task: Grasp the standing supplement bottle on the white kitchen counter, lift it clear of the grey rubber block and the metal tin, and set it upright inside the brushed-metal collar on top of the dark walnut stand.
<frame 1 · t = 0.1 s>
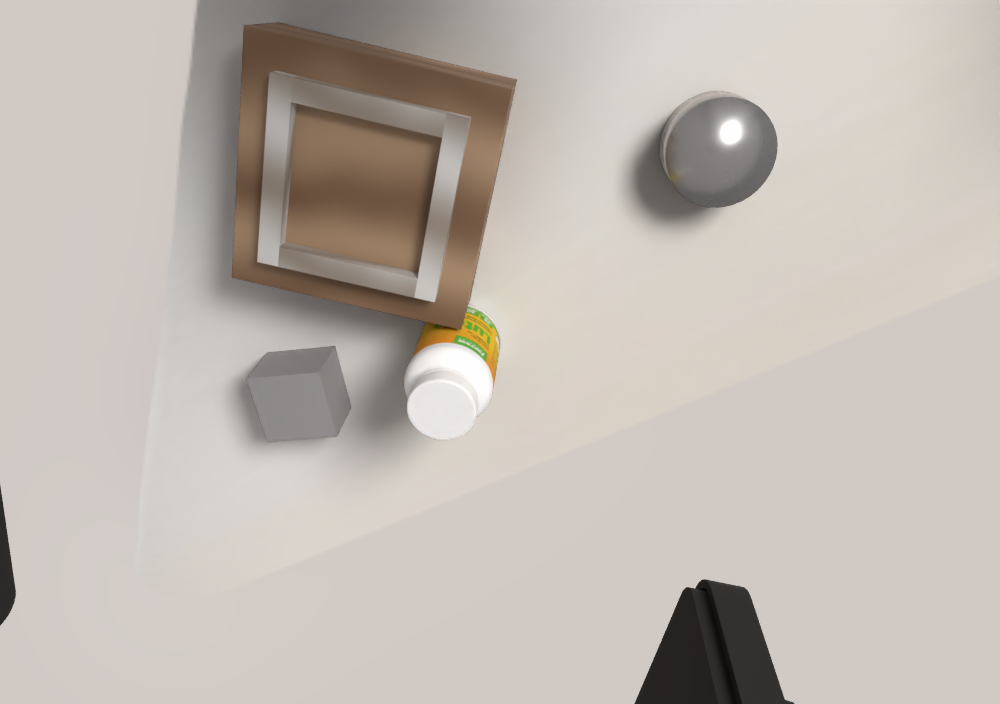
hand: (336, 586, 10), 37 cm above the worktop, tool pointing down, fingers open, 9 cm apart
metal tin: (710, 144, 42), on the worktop
supplement bottle: (462, 336, 49), on the worktop
grey rubber block: (310, 379, 51), on the worktop
walnut stand: (381, 171, 44), on the worktop
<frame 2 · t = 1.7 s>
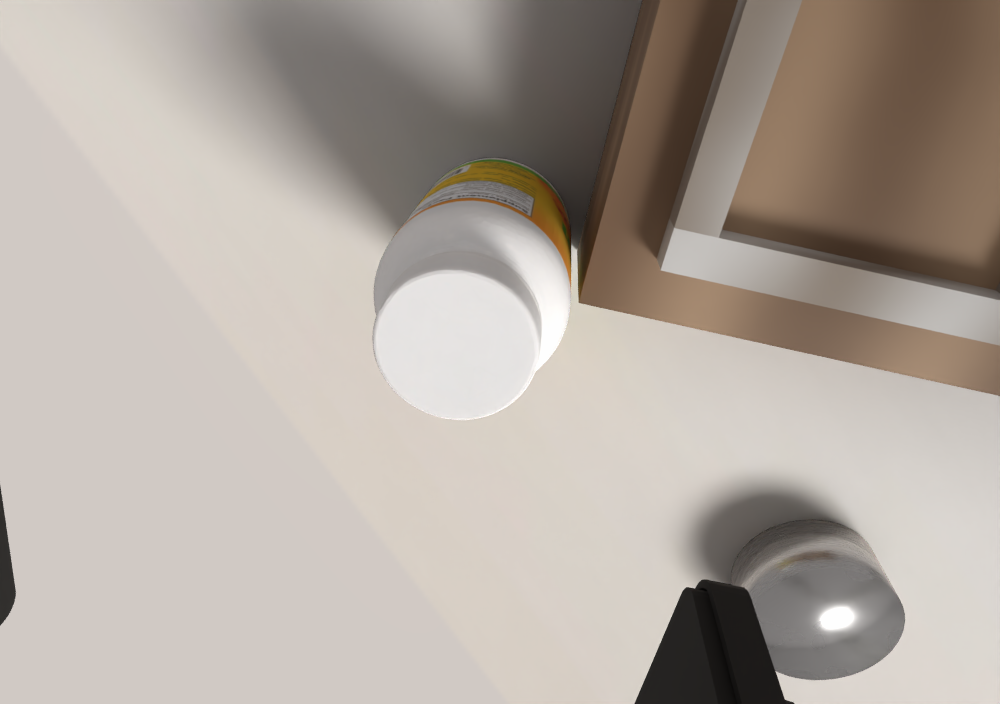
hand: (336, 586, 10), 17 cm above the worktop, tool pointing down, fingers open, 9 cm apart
metal tin: (801, 572, 31), on the worktop
supplement bottle: (495, 230, 26), on the worktop
walnut stand: (850, 89, 22), on the worktop
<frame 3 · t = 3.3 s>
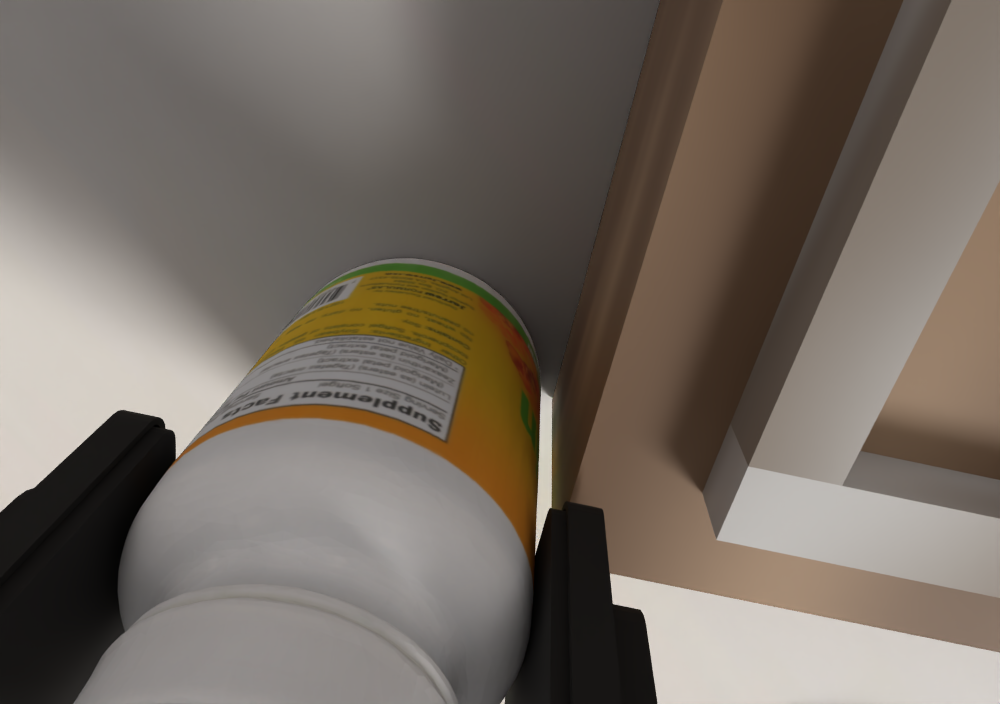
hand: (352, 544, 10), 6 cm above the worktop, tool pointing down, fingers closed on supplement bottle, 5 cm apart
supplement bottle: (418, 366, 16), on the worktop, touching gripper
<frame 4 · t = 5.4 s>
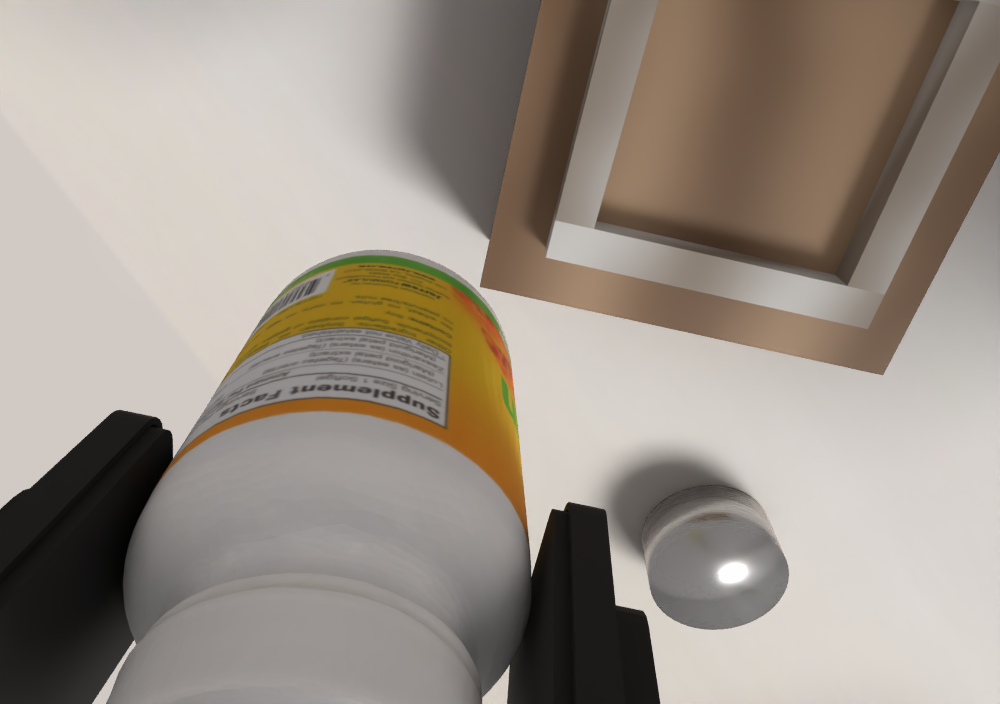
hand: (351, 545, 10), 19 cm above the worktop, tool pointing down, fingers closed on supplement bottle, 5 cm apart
metal tin: (704, 534, 34), on the worktop
supplement bottle: (388, 356, 16), point 13 cm above the worktop, touching gripper
walnut stand: (722, 97, 25), on the worktop
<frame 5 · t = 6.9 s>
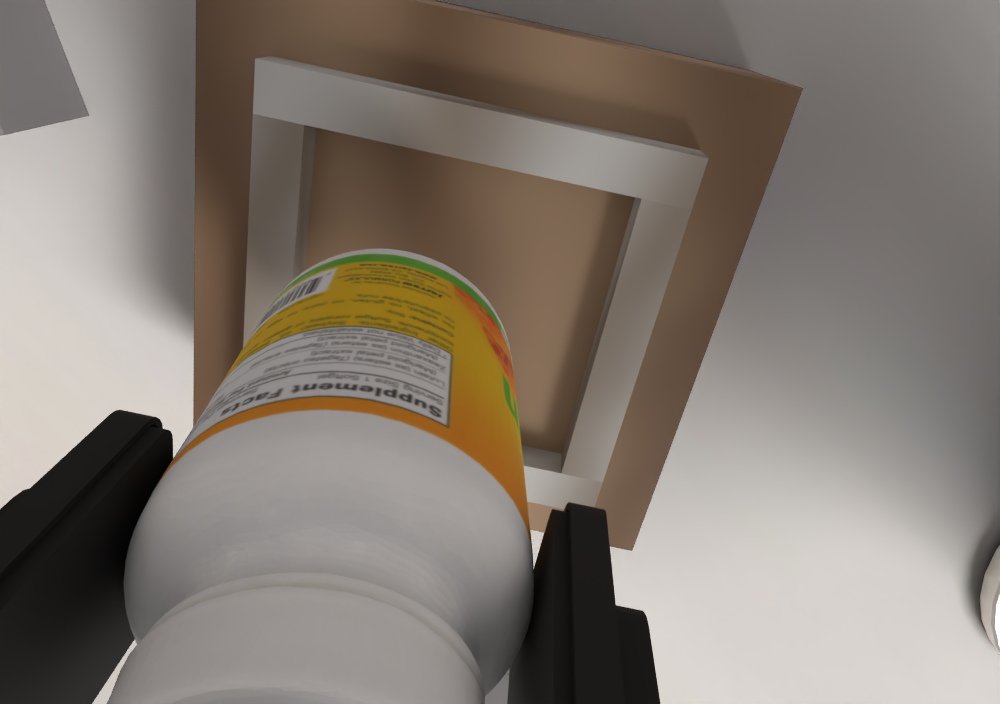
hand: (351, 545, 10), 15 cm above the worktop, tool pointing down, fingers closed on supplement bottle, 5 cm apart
metal tin: (526, 666, 32), on the worktop
supplement bottle: (389, 355, 16), point 9 cm above the worktop, touching gripper
walnut stand: (471, 246, 24), on the worktop
when the fingers open (12 cm above the worktop, at t = 7.8 s): supplement bottle drops 1 cm, resting on walnut stand.
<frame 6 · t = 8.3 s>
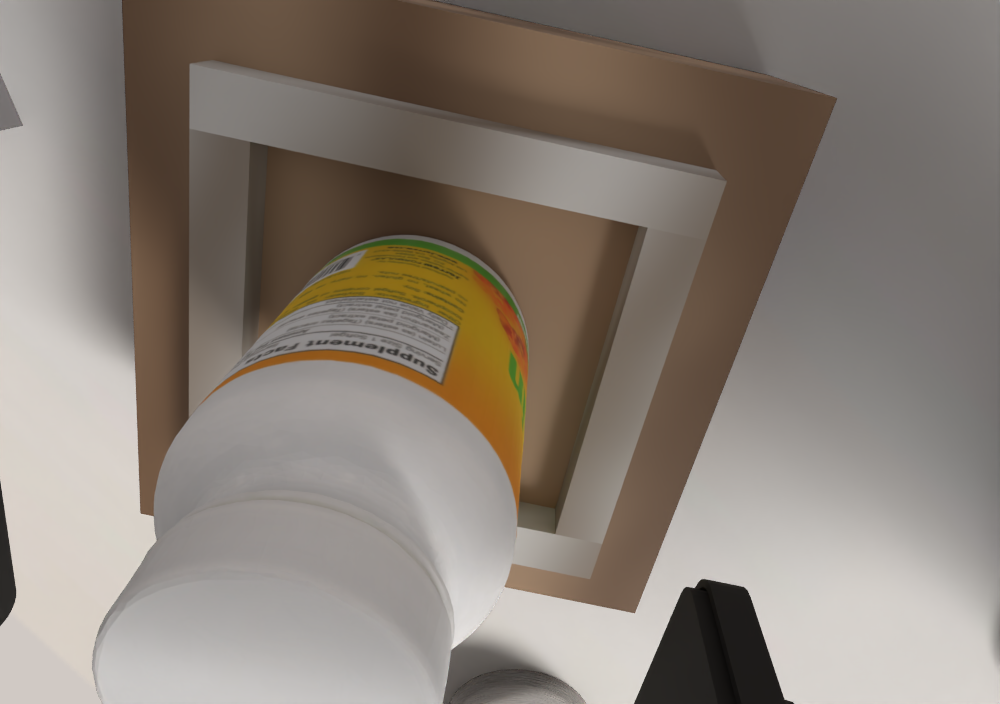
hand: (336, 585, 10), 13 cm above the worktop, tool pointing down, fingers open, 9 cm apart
supplement bottle: (416, 337, 17), point 5 cm above the worktop, touching walnut stand
walnut stand: (454, 270, 21), on the worktop
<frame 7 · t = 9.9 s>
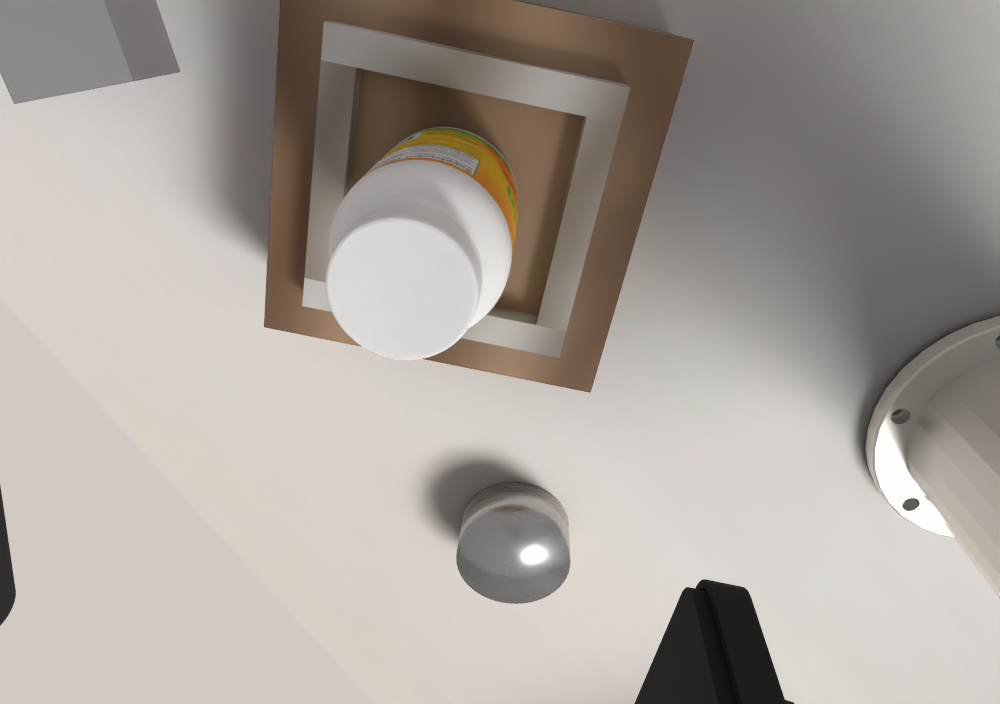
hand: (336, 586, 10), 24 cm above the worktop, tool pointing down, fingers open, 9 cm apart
metal tin: (515, 523, 40), on the worktop
supplement bottle: (448, 196, 27), point 5 cm above the worktop, touching walnut stand
grey rubber block: (104, 18, 30), on the worktop
walnut stand: (468, 170, 31), on the worktop
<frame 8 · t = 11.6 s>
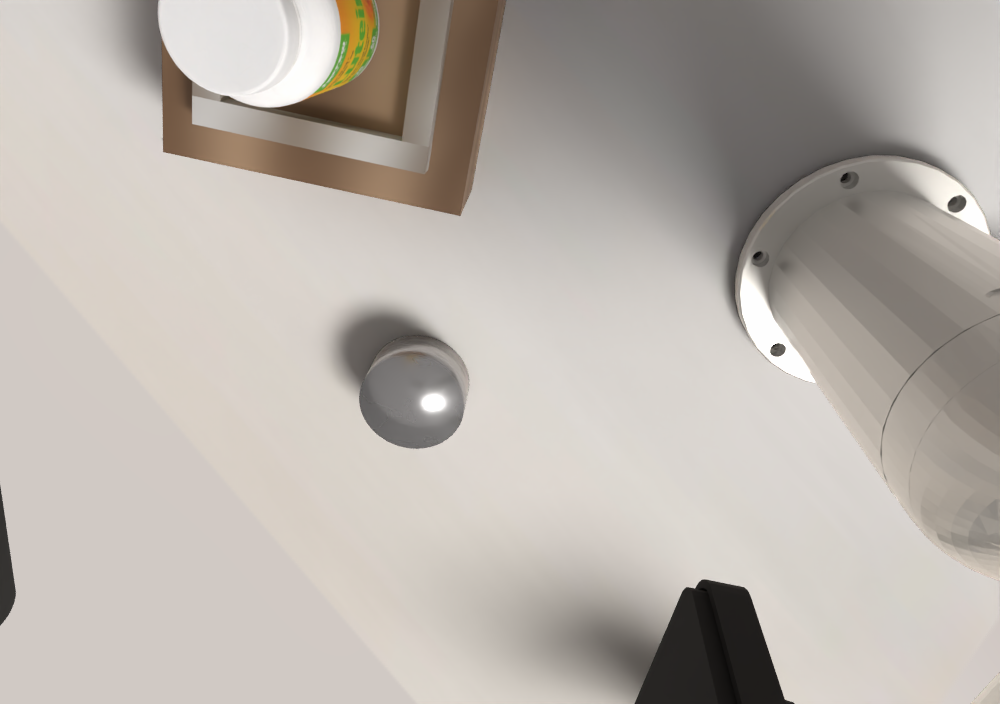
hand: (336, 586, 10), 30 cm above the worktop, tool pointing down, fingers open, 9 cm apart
metal tin: (420, 379, 43), on the worktop
supplement bottle: (320, 20, 30), point 5 cm above the worktop, touching walnut stand
walnut stand: (355, 18, 34), on the worktop
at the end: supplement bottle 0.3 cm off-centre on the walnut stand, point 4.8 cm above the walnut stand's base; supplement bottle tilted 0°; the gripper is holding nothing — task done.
